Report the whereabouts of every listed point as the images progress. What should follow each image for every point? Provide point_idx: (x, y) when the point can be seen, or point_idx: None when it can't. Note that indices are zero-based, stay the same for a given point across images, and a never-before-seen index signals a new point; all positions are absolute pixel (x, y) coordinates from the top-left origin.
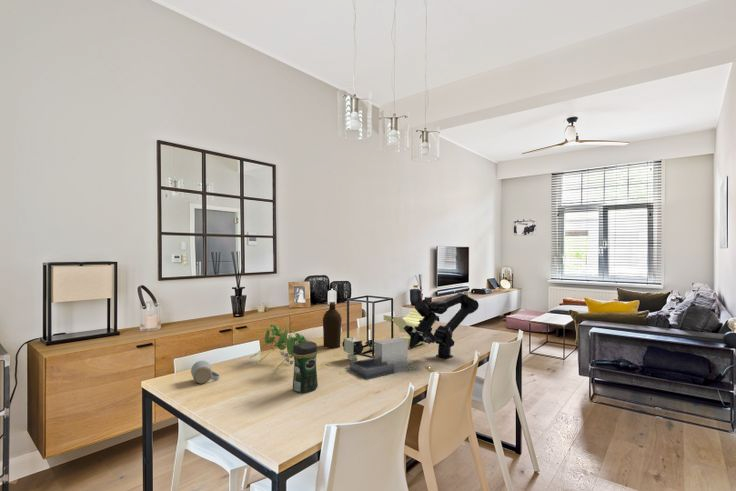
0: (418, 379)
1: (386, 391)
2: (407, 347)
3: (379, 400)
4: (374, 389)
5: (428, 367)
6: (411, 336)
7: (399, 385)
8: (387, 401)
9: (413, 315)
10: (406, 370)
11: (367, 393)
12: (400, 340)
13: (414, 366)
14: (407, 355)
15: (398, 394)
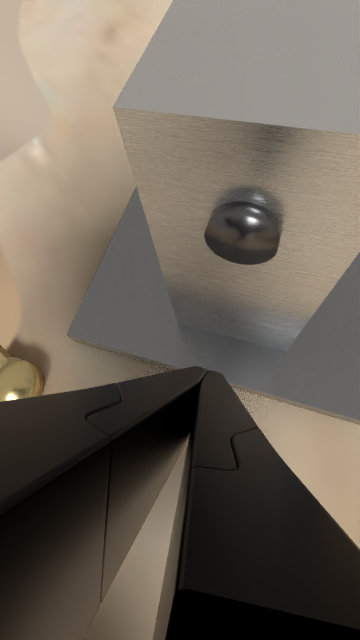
0: (18, 207)
1: (84, 50)
2: (149, 221)
3: (67, 8)
4: (133, 36)
5: (3, 380)
6: (250, 477)
7: (68, 108)
8: (41, 17)
9: None
10: (120, 230)
11: (132, 9)
12: (203, 8)
13: (114, 332)
14: (166, 282)
15: (32, 60)
